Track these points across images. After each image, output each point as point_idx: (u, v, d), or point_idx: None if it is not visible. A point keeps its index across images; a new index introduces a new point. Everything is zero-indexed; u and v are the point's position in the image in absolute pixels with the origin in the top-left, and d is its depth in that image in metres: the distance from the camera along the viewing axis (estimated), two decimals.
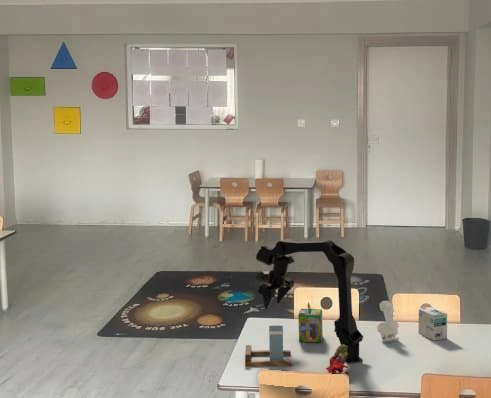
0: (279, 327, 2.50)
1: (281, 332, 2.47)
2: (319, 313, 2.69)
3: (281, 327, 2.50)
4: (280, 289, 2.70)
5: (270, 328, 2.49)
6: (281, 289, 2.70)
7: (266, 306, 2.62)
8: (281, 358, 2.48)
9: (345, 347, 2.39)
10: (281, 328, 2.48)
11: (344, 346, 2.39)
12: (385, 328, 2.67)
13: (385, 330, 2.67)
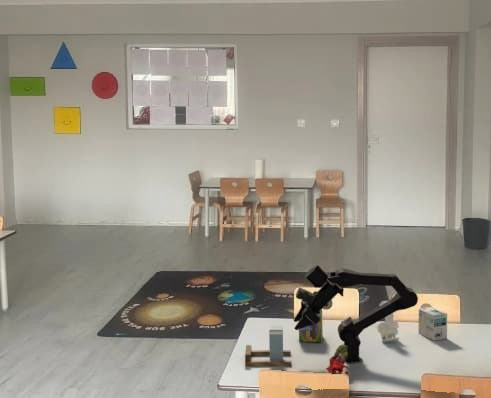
0: (279, 327, 2.50)
1: (281, 332, 2.47)
2: None
3: (281, 327, 2.50)
4: (303, 309, 2.53)
5: (270, 328, 2.49)
6: None
7: (298, 327, 2.44)
8: (281, 358, 2.48)
9: (345, 347, 2.39)
10: (281, 328, 2.48)
11: (344, 346, 2.39)
12: (385, 328, 2.67)
13: (385, 330, 2.67)
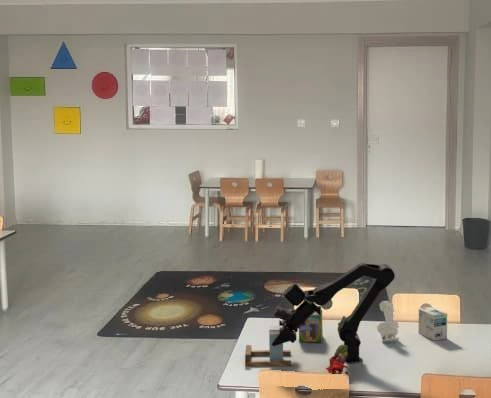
0: (279, 327, 2.50)
1: None
2: None
3: (281, 327, 2.50)
4: None
5: (270, 328, 2.49)
6: None
7: (275, 344, 2.47)
8: (281, 358, 2.48)
9: (345, 347, 2.39)
10: None
11: (344, 346, 2.39)
12: (385, 328, 2.67)
13: (385, 330, 2.67)
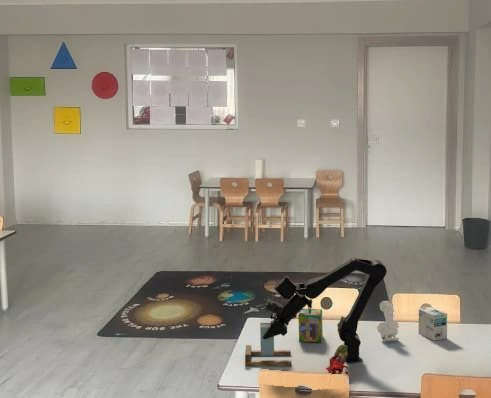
0: (270, 320, 2.49)
1: None
2: (319, 313, 2.69)
3: (272, 320, 2.50)
4: None
5: (261, 321, 2.48)
6: None
7: (266, 337, 2.47)
8: (272, 351, 2.48)
9: (345, 347, 2.39)
10: None
11: (344, 346, 2.39)
12: (385, 328, 2.67)
13: (385, 330, 2.67)
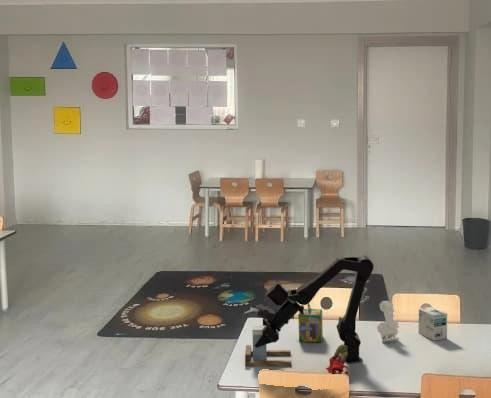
0: (262, 327, 2.50)
1: None
2: (319, 313, 2.69)
3: None
4: (265, 326, 2.55)
5: (253, 328, 2.49)
6: None
7: (258, 345, 2.45)
8: (264, 358, 2.49)
9: (345, 347, 2.39)
10: None
11: (344, 346, 2.39)
12: (385, 328, 2.67)
13: (385, 330, 2.67)
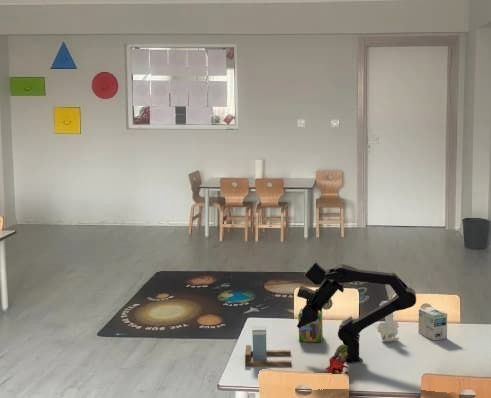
0: (262, 327, 2.50)
1: (264, 332, 2.47)
2: (319, 313, 2.69)
3: (264, 327, 2.50)
4: None
5: (253, 328, 2.49)
6: None
7: (300, 325, 2.47)
8: (264, 358, 2.49)
9: (345, 347, 2.39)
10: (264, 328, 2.49)
11: (344, 346, 2.39)
12: (385, 328, 2.67)
13: (385, 330, 2.67)
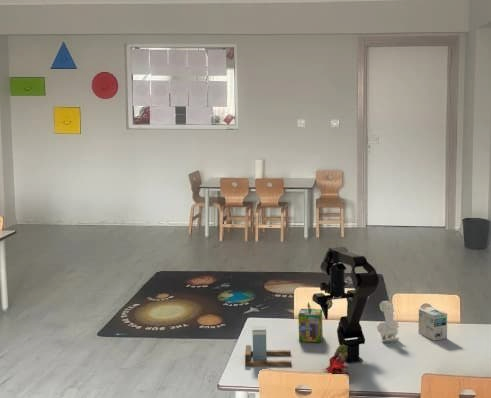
0: (262, 327, 2.50)
1: (264, 332, 2.47)
2: (319, 313, 2.69)
3: (264, 327, 2.50)
4: (348, 302, 2.62)
5: (253, 328, 2.49)
6: (349, 302, 2.61)
7: (325, 316, 2.59)
8: (264, 358, 2.49)
9: (345, 347, 2.39)
10: (264, 328, 2.49)
11: (344, 346, 2.39)
12: (385, 328, 2.67)
13: (385, 330, 2.67)
